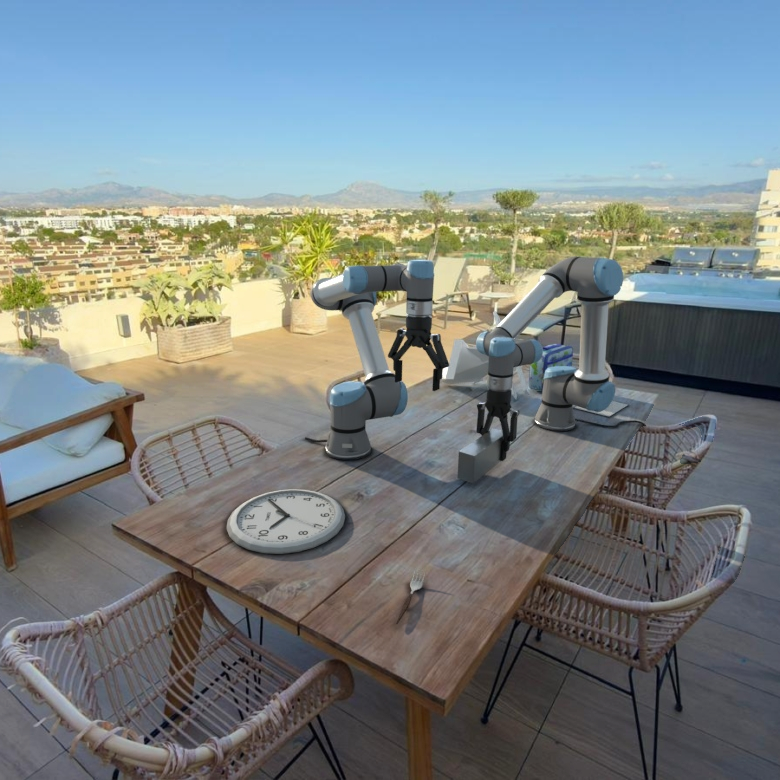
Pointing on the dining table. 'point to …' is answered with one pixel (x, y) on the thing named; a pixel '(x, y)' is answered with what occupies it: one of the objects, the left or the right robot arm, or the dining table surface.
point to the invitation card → (608, 409)
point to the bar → (480, 456)
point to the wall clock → (285, 521)
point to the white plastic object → (472, 365)
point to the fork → (414, 586)
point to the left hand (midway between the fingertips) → (416, 385)
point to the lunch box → (549, 363)
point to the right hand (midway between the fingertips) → (494, 456)
